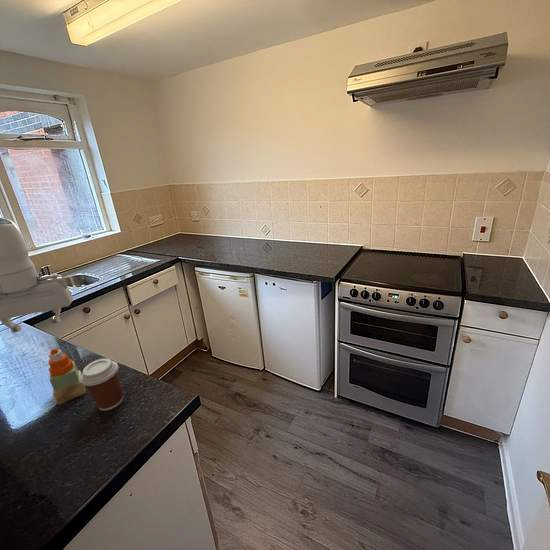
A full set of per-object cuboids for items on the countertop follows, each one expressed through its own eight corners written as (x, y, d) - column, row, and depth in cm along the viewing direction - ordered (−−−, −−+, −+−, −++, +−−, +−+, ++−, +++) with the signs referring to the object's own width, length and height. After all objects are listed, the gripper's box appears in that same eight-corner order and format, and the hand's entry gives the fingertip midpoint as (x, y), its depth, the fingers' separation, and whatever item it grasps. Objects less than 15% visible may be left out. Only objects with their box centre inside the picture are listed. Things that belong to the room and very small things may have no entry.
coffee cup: (121, 411, 79) (107, 375, 75) (86, 416, 79) (70, 380, 74) (133, 387, 87) (121, 353, 83) (102, 392, 87) (88, 358, 83)
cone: (48, 379, 82) (38, 357, 80) (54, 367, 87) (45, 346, 85) (71, 372, 84) (61, 351, 81) (76, 361, 89) (67, 341, 86)
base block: (58, 404, 84) (52, 393, 83) (58, 391, 89) (53, 380, 88) (86, 392, 88) (81, 382, 86) (84, 380, 93) (80, 370, 92)
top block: (54, 392, 83) (49, 380, 82) (55, 380, 88) (50, 369, 86) (79, 381, 86) (74, 370, 85) (78, 371, 91) (73, 360, 89)
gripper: (66, 269, 83) (82, 313, 88) (-24, 284, 77) (-1, 330, 82) (59, 276, 77) (76, 322, 82) (-38, 293, 72) (-13, 342, 76)
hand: (37, 327), depth 82 cm, fingers open, 8 cm apart
